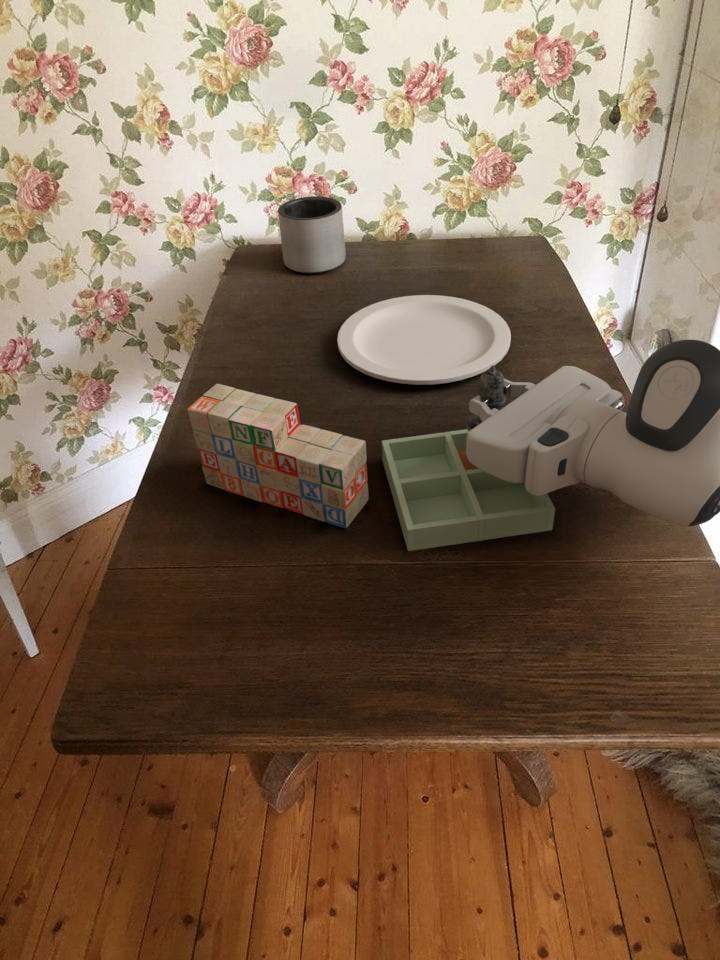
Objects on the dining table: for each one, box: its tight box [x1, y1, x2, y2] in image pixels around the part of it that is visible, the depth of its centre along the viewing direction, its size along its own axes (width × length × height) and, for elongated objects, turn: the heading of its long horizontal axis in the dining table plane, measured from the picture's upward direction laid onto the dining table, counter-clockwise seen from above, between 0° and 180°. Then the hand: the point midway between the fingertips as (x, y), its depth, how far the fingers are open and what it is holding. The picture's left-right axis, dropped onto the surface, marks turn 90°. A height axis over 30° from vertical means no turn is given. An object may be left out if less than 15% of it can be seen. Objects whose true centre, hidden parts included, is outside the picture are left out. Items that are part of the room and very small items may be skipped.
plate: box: [336, 294, 512, 386], centre depth 123 cm, size 28×28×2 cm
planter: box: [277, 195, 347, 275], centre depth 148 cm, size 13×12×11 cm
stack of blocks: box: [187, 383, 370, 529], centre depth 93 cm, size 21×6×12 cm, turn 62°
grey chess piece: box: [465, 365, 507, 432], centre depth 92 cm, size 6×6×12 cm
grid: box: [381, 428, 556, 552], centre depth 94 cm, size 17×17×3 cm
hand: (485, 394), depth 92 cm, fingers closed on grey chess piece, 3 cm apart
